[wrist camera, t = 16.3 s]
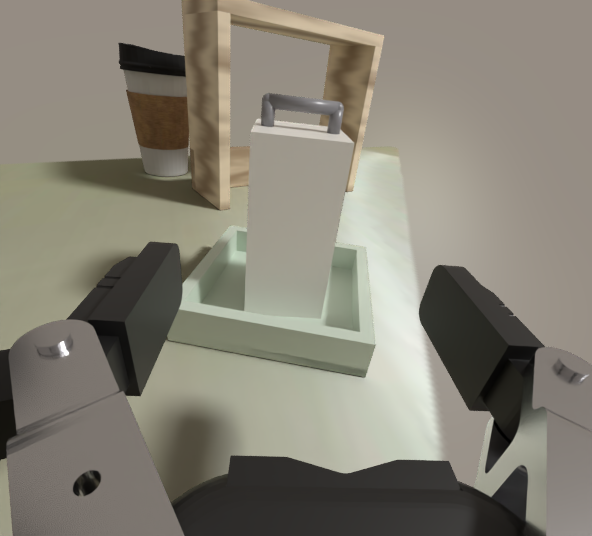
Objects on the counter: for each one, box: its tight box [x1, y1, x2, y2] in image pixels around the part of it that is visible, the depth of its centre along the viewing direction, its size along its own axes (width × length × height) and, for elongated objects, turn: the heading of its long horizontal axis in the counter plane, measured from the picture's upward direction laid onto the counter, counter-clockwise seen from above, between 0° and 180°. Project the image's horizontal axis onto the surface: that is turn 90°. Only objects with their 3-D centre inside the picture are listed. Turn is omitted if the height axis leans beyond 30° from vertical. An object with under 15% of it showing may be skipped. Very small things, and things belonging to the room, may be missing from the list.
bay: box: [182, 0, 384, 210], centre depth 41 cm, size 8×22×19 cm, turn 127°
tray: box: [167, 225, 376, 377], centre depth 23 cm, size 12×12×2 cm
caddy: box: [244, 93, 354, 319], centre depth 20 cm, size 5×5×13 cm
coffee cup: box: [119, 43, 189, 177], centre depth 43 cm, size 8×8×15 cm
